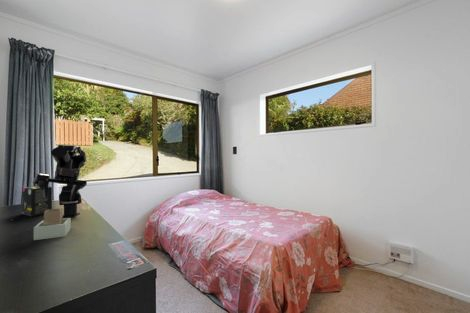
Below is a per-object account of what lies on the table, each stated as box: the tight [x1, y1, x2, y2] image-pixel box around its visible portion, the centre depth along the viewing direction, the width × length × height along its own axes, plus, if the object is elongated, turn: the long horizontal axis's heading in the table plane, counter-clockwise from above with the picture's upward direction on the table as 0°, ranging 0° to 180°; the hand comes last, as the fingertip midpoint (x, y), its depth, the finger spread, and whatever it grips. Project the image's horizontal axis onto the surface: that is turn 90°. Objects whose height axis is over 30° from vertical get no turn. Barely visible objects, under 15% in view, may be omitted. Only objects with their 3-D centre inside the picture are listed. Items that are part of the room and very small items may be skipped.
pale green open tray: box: [33, 217, 72, 241], centre depth 89 cm, size 10×10×5 cm
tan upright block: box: [43, 208, 63, 226], centre depth 89 cm, size 4×5×9 cm
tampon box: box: [21, 185, 53, 217], centre depth 121 cm, size 11×9×15 cm
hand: (58, 199), depth 98 cm, fingers open, 9 cm apart
